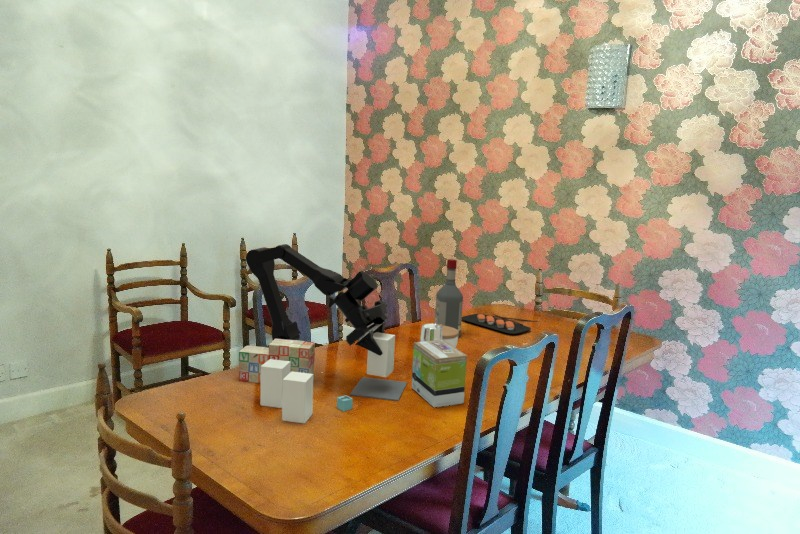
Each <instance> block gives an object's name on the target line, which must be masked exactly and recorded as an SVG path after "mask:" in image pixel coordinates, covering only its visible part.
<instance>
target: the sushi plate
mask: <svg viewBox="0 0 800 534" xmlns="http://www.w3.org/2000/svg"><path fill="white" fill-rule="evenodd" d="M515 320H516V321H515ZM461 321H465V322H468V323H471V324H475V325H478V326H482V327H485V328H489V329H492V330H495V331H499V332H502V333H506V334H509V335H510V334H511V335H517V334H521V333H525V332H528V331H530V330H532V328H531V327H529V326H528V325H527V326H526V325H524V324H523V323H520V322H517V321H521V322H528V323H529V322H532V323H539V322H540V321H538V320H530V319H521V318H514V317H504V316H500V315H497V314H495V313H492V315H489V314H484V313H473V314H468V315H464V316H463V315H462V320H461Z"/></svg>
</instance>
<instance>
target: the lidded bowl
mask: <svg viewBox="0 0 800 534" xmlns="http://www.w3.org/2000/svg"><path fill="white" fill-rule="evenodd" d="M440 325H441V326H442V340H444V341H445V342H447V343H448V344H450V345H451V346H453V347H455V348H456V349H457V345H458V340H459V337H458V335H459V331H458V330H457V329H455V328H452V327H449V326H443V325H442V324H440Z"/></svg>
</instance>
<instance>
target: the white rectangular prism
mask: <svg viewBox="0 0 800 534" xmlns="http://www.w3.org/2000/svg"><path fill="white" fill-rule="evenodd" d="M373 338H374V340H375V341H376V343H377V344H378V346H379V348H380V349H381V351H382V353H383V354H382V355H381V356H379V355H377V354H375V353H373V352H371V351H369V350H367V359H366V360H367V361H366V374H367V375H371V376H378V377H380V378H381V377H383V378H387V377H388V376H389V375H390V374H391V373H393V372H394V366H395V365H394V364H395V348H396V347H395V346H396V334H390V333H386V332H385V333H379V332H376V333H374V334H373Z"/></svg>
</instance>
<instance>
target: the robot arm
mask: <svg viewBox="0 0 800 534" xmlns="http://www.w3.org/2000/svg"><path fill="white" fill-rule="evenodd" d="M279 259H280V261H282V262H284V263H286V264H287V265H289V266H290V267H292V268H294V269H295V270H296V271H298V272H299V273H301V274H302V275H304V276H305V277H307V278H308V280H310V281H312V283H313V285H314V287H315V288H316V289H318V291H320V292H321V294H323V295H324V296H331V295H335V294H336V293H337V294H336V296H331V297H329V301H328V308H332V307H334V306H337V308H338V310H340V312H341V313H342V314H343V316H344V317H345V319H344V322H346V323H348V322H349V323H350V324H351V326H352V327H353V328H354V329H353V330H352V331H351V332H349V333H348V334H347V335H346V337H345V341H346V343H347V344H348V345H349V346H350V347H351V346H352V345H355V346H359V347H361V348H363V349H365V350H367V351H368V350H369V351H371V352H373V353H375V354H377V355H379V356H381V355H382V354H383V353H382V351H381V349H380V348H379V346H378V344H377V343H376V341H375V340H374V338H373V334H374V333H376V332H379V333H385V334H386V331H385V326H386V324H387V323H386V321H387V320H388V317H387V316H386V314H388V310H387V308H388V305H387V304H386V303H385V302H384V301H383V300H382V299H379V300H377V301H375V302H374V305H372V306H371V307H368V306H367V305H365V304H363V305H362V304H361V303H360V302H359V300H360V301H364V300H365V299H366V298H368V297H369V296H370V295H371V294H372V293H373V292H374V291H376V289H377V288H378V284H377V281H376V280H375V279H374V278H373V277H372V276H370V275H369V274H367V273H365V272H364V271H363V270H361V271H358V273H356V275H355V276H354V277H353V278H352V279H350V278H346V277H343V275H342V274H340V273H338V272H336V271H334V270H332V269H328V268H324V267H322V266H320V265H318V264H316V263H315V262H313V261H312V260H310V259H309V258H307V257H306V256H304V255H302V254H301V253H299V252H298V251H297V250H295V249H293V248H292V246H290V244H286V243H284V244H278V245H276V246H275V247H270V248H268V247H266V246H265V247H263V246H262V247H258V248H255V249H250V250H249V251H248V252H247V253H246V256H245V263H246V264H247V266H248V269H249V271H250V272H251V273H252V274H253V276H254V277H255V278H257V281H258V283H259V286H260V289H261V293H262V295H263V298H264V302H265V304H266V308H267V310H268V313H269V316H270V319H271V323H272V325H271V333H270V334H271V338H272V339H271V340H272V341H273V340H274V339H285V340H300V334H301V331H300V330H299V327H298V322H297V321H296V320H295V321H292V320H290V319H289V316H288V314H287V311H286V308H285V306H284V301H283V299H282V296H281V293H280V291H279V287H278V283H277V280H276V278H275V274H274V273H275V265H276V264H275V261H276V260H279ZM344 290H346V291H344ZM266 347H267V348H269V344H268V345H267V346H266Z"/></svg>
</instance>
